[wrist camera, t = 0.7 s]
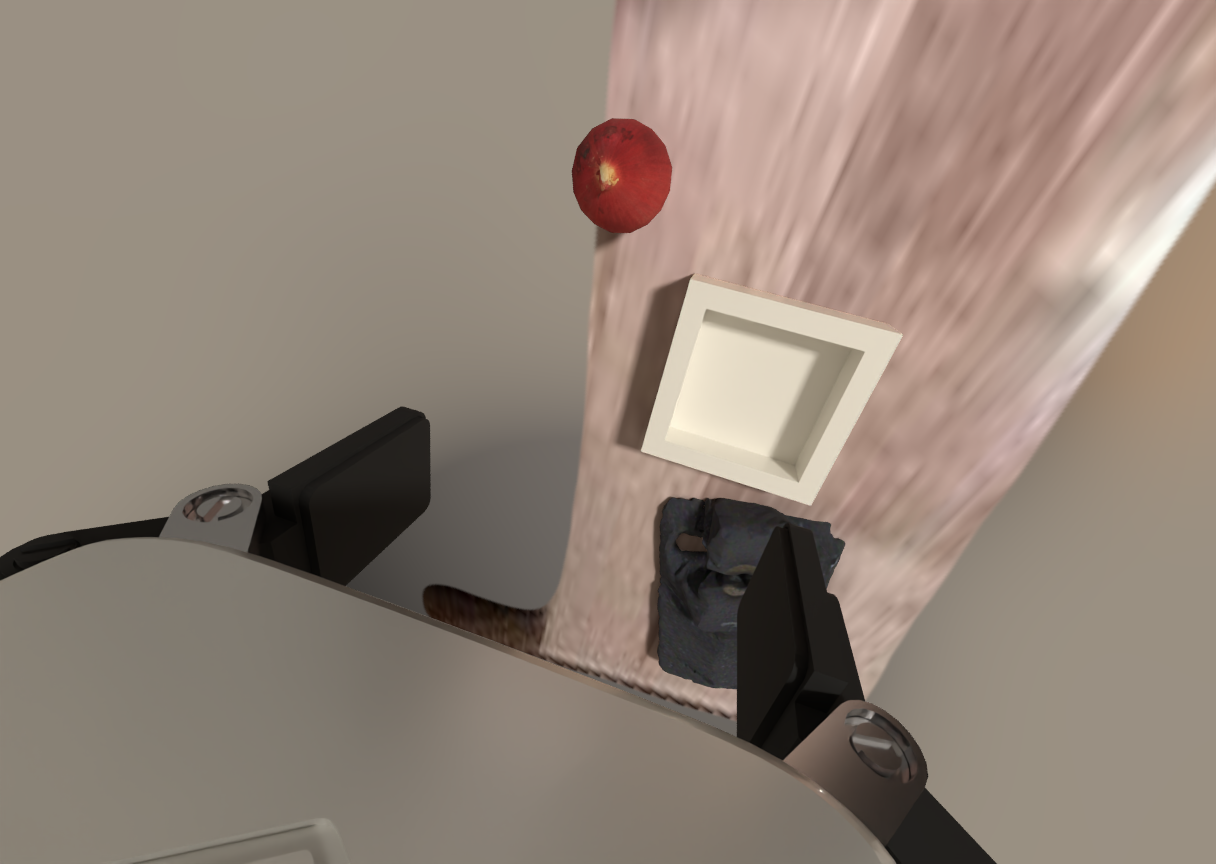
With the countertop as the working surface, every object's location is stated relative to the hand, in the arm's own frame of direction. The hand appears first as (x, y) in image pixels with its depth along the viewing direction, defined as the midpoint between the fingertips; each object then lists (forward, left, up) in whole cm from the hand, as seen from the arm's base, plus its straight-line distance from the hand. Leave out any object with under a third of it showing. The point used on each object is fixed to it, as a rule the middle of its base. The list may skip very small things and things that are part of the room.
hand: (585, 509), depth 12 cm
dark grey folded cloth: (+24, +12, -25) cm, 36 cm away
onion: (-8, -6, -24) cm, 26 cm away
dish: (+3, +6, -24) cm, 25 cm away
